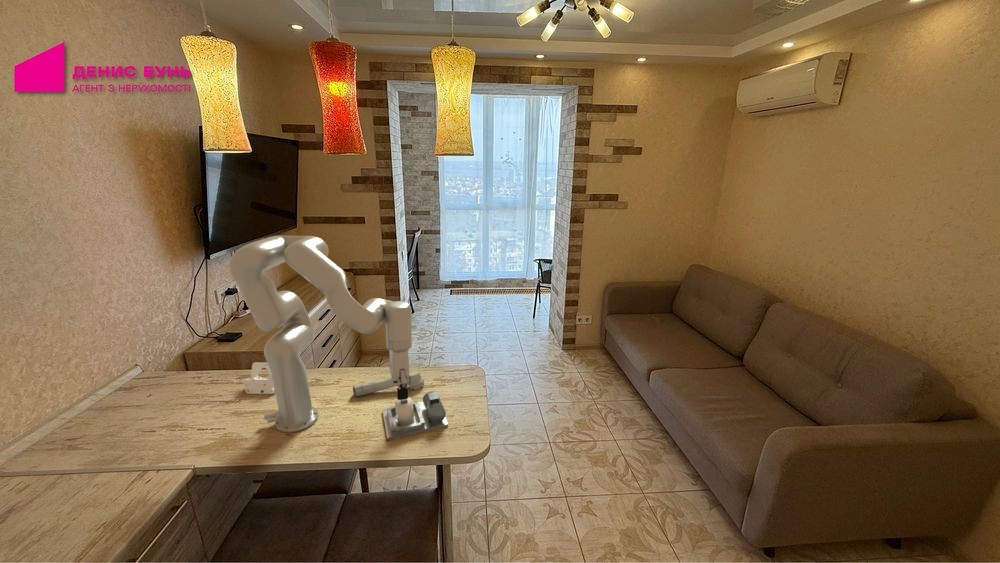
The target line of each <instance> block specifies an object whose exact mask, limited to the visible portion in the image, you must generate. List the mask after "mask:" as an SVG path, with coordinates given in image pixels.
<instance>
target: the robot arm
mask: <svg viewBox="0 0 1000 563" xmlns="http://www.w3.org/2000/svg"><path fill="white" fill-rule="evenodd" d="M329 249H330V248H329V246H328V244H327V242H325V240H323V239H322V238H320V237H318V236H314V235H287V234H286V235H283V234H282V235H273V236H269V237H265V238H262V239H259V240H256V241H253V242H250V243H247V244H245V245H243V246H241V247H240V248H239V249H237V250H236V251H235V252H234V253H233V254H232V255H231V257H230V260H229V266H228V267H229V272H230V275H231V277H232V279H233V281H234V282H235V284H236V285H237V287H238V288H239V290H240V292H241V294H242V296H243V298H244V301H245V303H246V306H247V308H248V310H249V311H250V314H251V315H252V318H253V319H254V322H255V324H256V325H257V327H258V328H259V329H260V330H262V331H264V332H267V333H268V332H273V331H277V330H278V329H280V330H278V331H277V332H276V333H275V334H273V335H272V336H271V337H270V338H269V339H268V340H267V341H266V343H265V345H264V349H263V356H264V358H265V361H266V363H268V365H269V367H270V370H271V374H272V379H273V384H274V389H275V393H274V394H275V400H276V404H277V409H278V410H275V411H273V412H267V413H264V414H263V419H264V420H265V421H267V423H268V424H269V423H274V425H275V428H276V429H277V430H278V431H279V432H281V433H282V432H283V433H295V432H299V431H303V430H305V429H307V428H308V427H311V426H312V425H313V424H314V423H315V422H316V421H317V420H318V418H319V411H318V409H317V408H316V407H313V406H312V399H311V398H312V397H311V392H310V386H309V380H308V379H309V378H308V373H307V368H306V365H305V364H304V362H303V360H301V354H302V353H303V352H304V351H305V350H306V349H307V348H308V347H309V346H310V345H311V344H312V343H313V342H314V340H315V336H316V332H315V329H314V326H313V323H312V321H311V319H310V316H309V313H308V311H307V309H306V306H305V305H304V302H303V300H302V299H301V298H300V297H299V295H298V294H296V293H294V292H292V291H290V290H280V291H278V289H277V287H276V285H275V283H274V281H273V279H271V278H270V276H269V275H267V274H266V273H265V272H266V271H268V270H269V269H270V270H271V269H272V268H275V267H277V266H279V265H281V264H284V263H286V265H288V266H289V267H290V268H291V269H293V270H294V271H295V272H296V273H297V274H298V275H300V276H302V277H303V278H304V279H305V280H306V281H308V282H309V283H310V284H311V285H312V286H314V287H315V288H317V289H318V290H319V291H321V293H323V295H324V297H325V298H326V300H327V303H328V305H329V307H330V309H331V310H332V311H333V313H334V314H335V315H336V317H337V318H338V319H339V320H341V322H343V323H344V324H346V326H349V328H350V329H352V330H354V331H355V332H358V333H360V334H364V335H369V334H372V333H374V332H376V330H378V329H379V327H380V326H381V325H382V324H383V323H384V324H385V339H386V341H385V342H386V344H385V345H386V349H387V350H388V351H389V366H388V367H389V371H390V376H391V378H392V380H393V382H394V383H398V386H397V388H396V392H397V394H396V397H397V399H398V400H402V399H408V397H409V385H407V379H408V378H409V373H410V359H409V358H410V357H409V349H411V348H412V346H413V337H412V336H413V333H412V332H413V331H412V330H413V328H412V326H413V325H412V306H411V304H410V303H409V302H406V301H403V300H401V301H400V300H396V301H392V300H387V299H384V298H379V297H372V298H370V299H368V300H367V301H366V302H365V303H363V305H362V304H361V303H360V302H358V300H356V299H355V298H354V297H353V296H352V295H351V293H350V291H349V289H348V286H347V275H346V274H347V273H346V271H345V270H344V269H342V268H341V267H340V266H338V264H336V263H335V262H334V261H332V260H331V259H330V258H328V256H329ZM281 327H282V329H281ZM400 382H401V384H400ZM397 399H396V400H397Z"/></svg>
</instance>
